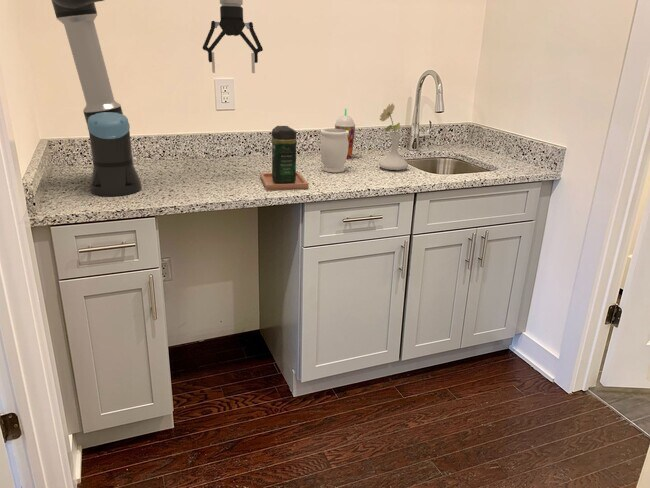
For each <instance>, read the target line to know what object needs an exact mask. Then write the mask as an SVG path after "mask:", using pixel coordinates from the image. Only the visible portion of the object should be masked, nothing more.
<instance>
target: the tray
mask: <svg viewBox="0 0 650 488" xmlns="http://www.w3.org/2000/svg"><path fill="white" fill-rule="evenodd" d="M259 177H260V181H261V183H262V185H263V186H264V188H265V191H267V192H268V191H272V192H273V191H293V189H294V191H295V189H297V190H309V183H308V181H307V180H306V179H305V178H304V176H303V175H302V174H301V173H300V172H299V171H296V181H295V182H294V183H289V184H281V183H275V182H274V181H273V179H272V172H266V173H264V172H262V173H259Z"/></svg>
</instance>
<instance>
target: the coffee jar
mask: <svg viewBox="0 0 650 488" xmlns="http://www.w3.org/2000/svg"><path fill="white" fill-rule="evenodd" d="M271 161H272V162H271V173H272V179H273V181H274V182H275V183H281V184H289V183H294V182H295V181H296V172H297V131H296V130H295V129H294V128H291V127H289V126H288V125H276V126H275V127H274V128H272V131H271Z"/></svg>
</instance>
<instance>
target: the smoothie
mask: <svg viewBox="0 0 650 488" xmlns="http://www.w3.org/2000/svg"><path fill="white" fill-rule="evenodd" d="M334 129H343V130H347V131H349V134H348V135H347V137H348V154H347V159H346V160H349V159H351V157H352V155H353V150H354V148H353V147H354V141H355V139H354V138H355V131H356V130H355V129H356V123H355V122H354V120H353V118H352V117H350V116H348V115H347V108H344V115H341V116H340V117H338V119H337V120H336V123H335V124H334Z"/></svg>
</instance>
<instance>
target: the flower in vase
mask: <svg viewBox="0 0 650 488" xmlns="http://www.w3.org/2000/svg"><path fill="white" fill-rule="evenodd" d="M395 106H396V105H395V104H394V103H393V102H392V103H390V104H388V105H387V106H386V108H384V109H383V110H382V111H383V112H382V113H381V114H380V116H379V120H380V122H385V121H386V120H387V119H389V118H390V121H391V124H389V125H387V126H386V127H385V132H386V131H387V132H389V131H391V129H393V131H391V132H389V133H388V134H389V136H390V138H391V139H390V140H391V150H390V152H389V153H388V154H387V155H386V156H385V157H383V158H382V159H381V160H379V162H378V166H379V167H381V168H383V169H384V170H390V171H401V170H404V169H407V167H409V163H408V162H407V160H406V159H405V158H403V156H401V155H400V154H399V151H398V148H399V141H400V139H401V137H402V135H403V132H400V131H399V132H397V130H400V129H401V125H400V122H398V123H397V124H395V125H394V121H393V119H392V114H393V112H394V110H395V108H396V107H395Z"/></svg>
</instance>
